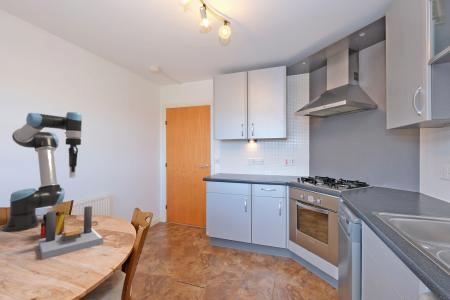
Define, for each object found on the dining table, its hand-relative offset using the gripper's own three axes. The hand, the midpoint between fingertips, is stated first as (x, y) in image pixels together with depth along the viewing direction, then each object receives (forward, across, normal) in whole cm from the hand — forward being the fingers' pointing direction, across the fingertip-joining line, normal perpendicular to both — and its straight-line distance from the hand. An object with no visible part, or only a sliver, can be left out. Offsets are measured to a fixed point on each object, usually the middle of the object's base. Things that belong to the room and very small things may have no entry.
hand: (72, 177), depth 126 cm
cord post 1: (+29, +16, -11) cm, 35 cm away
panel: (+32, +21, -3) cm, 39 cm away
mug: (+33, +2, -8) cm, 34 cm away
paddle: (+26, +21, -3) cm, 34 cm away
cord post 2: (+29, +16, +5) cm, 34 cm away
